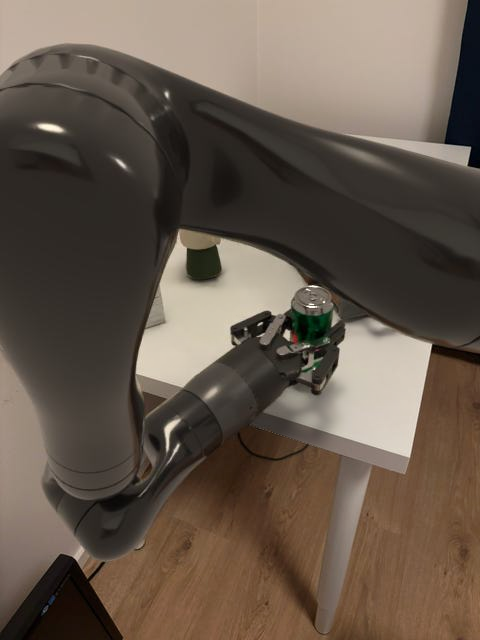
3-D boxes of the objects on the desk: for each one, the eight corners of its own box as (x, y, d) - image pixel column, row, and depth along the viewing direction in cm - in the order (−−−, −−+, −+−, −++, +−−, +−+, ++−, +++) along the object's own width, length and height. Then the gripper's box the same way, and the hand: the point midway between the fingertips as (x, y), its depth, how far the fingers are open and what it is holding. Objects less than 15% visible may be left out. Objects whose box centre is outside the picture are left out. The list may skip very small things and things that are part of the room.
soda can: (308, 388, 62) (313, 314, 54) (280, 367, 65) (282, 295, 57) (335, 370, 64) (343, 296, 56) (307, 350, 67) (312, 278, 59)
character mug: (239, 278, 85) (235, 210, 76) (205, 294, 81) (198, 225, 73) (203, 253, 91) (196, 188, 83) (171, 267, 88) (161, 201, 80)
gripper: (281, 404, 46) (377, 318, 55) (181, 338, 54) (279, 273, 63) (280, 452, 50) (368, 365, 60) (188, 385, 58) (279, 318, 68)
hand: (322, 318), depth 61 cm, fingers closed on soda can, 5 cm apart
